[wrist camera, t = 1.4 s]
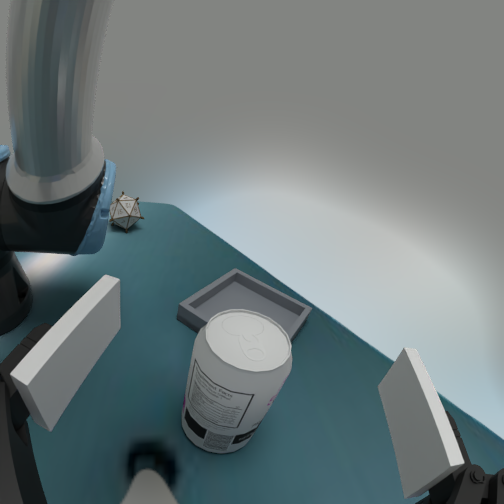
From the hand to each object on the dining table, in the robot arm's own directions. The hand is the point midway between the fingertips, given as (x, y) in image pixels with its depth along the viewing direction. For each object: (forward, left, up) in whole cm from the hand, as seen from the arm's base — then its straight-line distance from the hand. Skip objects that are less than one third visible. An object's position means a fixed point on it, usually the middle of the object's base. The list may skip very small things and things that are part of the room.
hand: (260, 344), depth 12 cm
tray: (-10, +27, -22) cm, 36 cm away
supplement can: (-3, +8, -22) cm, 24 cm away
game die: (-47, +32, -22) cm, 61 cm away
